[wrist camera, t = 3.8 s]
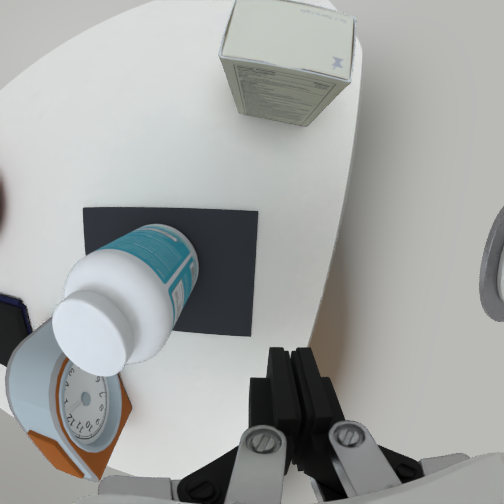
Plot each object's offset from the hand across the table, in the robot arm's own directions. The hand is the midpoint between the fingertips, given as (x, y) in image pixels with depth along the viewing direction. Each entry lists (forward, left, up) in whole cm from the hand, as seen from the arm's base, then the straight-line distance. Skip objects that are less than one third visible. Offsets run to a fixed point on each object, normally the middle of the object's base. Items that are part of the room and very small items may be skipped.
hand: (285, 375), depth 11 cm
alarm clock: (+21, +15, -15) cm, 30 cm away
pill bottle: (+10, 0, -15) cm, 18 cm away
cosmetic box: (0, -15, -15) cm, 21 cm away
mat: (+10, +1, -15) cm, 18 cm away
